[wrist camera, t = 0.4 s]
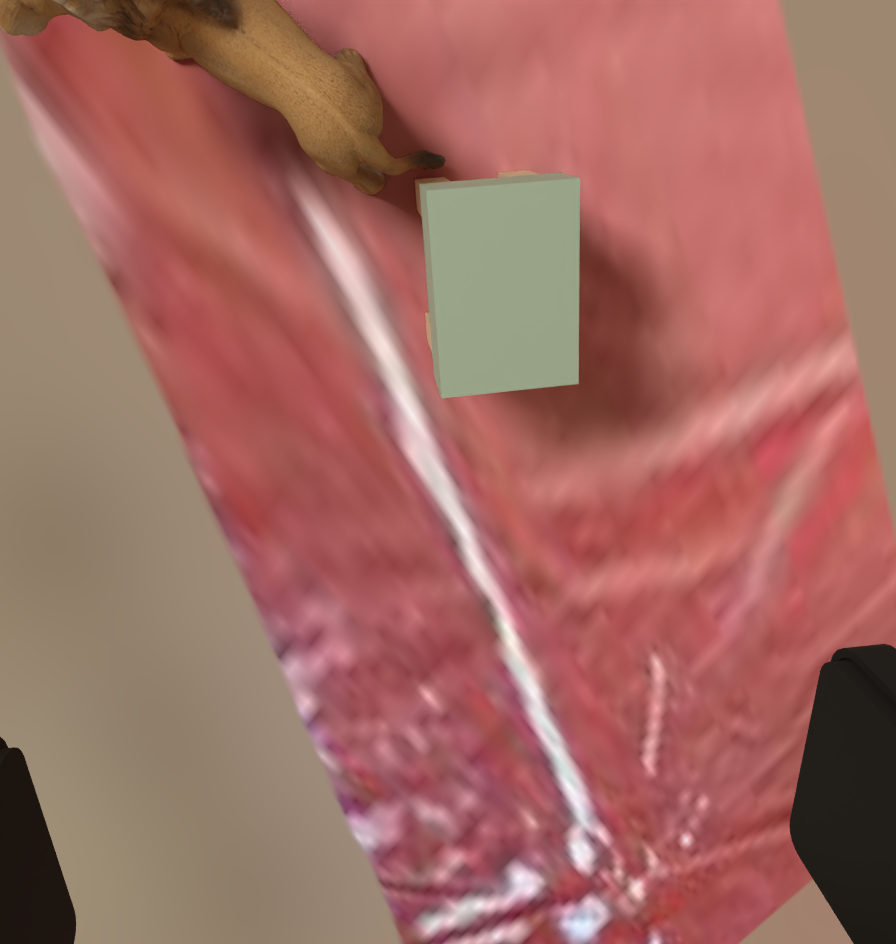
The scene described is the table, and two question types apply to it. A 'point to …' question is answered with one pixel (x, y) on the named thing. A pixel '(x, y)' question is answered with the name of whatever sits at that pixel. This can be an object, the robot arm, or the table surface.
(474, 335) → the sage stool
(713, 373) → the table surface
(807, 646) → the table surface
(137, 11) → the lion figurine
